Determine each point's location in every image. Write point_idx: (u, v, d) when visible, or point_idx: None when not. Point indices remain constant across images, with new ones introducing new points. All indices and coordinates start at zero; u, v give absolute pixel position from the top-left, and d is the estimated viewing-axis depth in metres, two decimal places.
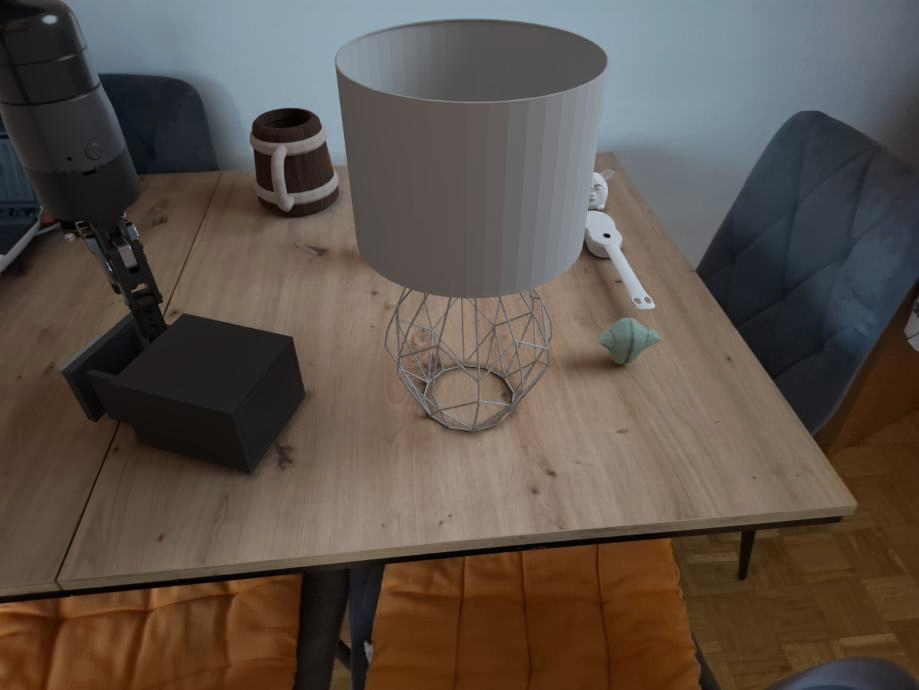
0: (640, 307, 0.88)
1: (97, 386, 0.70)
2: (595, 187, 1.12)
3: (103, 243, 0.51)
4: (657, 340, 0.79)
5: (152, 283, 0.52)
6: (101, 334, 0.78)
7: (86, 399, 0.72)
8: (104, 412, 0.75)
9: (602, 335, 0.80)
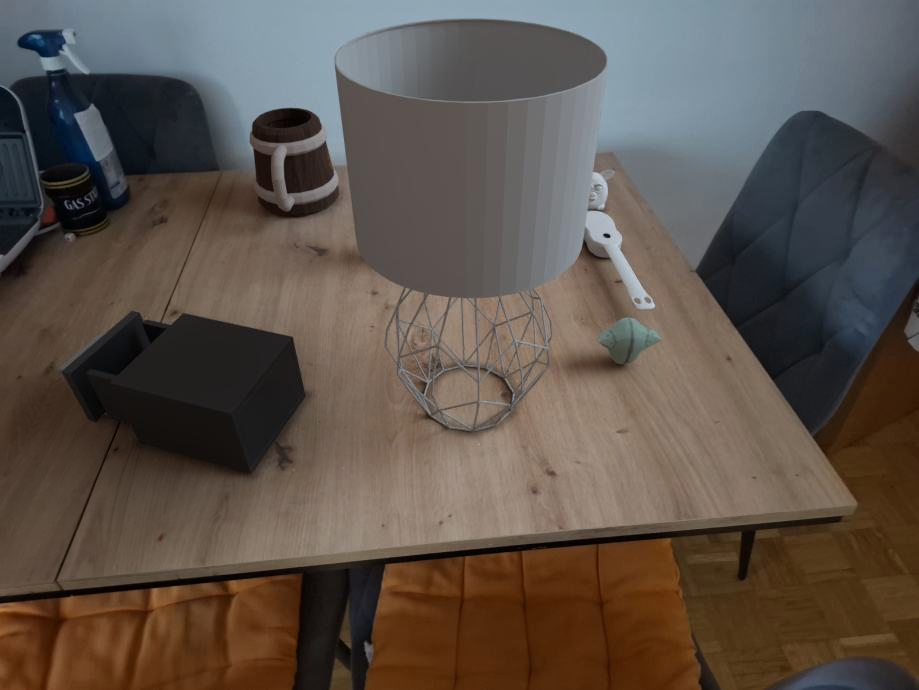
0: (640, 307, 0.88)
1: (97, 386, 0.70)
2: (595, 187, 1.12)
3: None
4: (657, 340, 0.79)
5: None
6: (101, 334, 0.78)
7: (86, 399, 0.72)
8: (104, 412, 0.75)
9: (602, 335, 0.80)
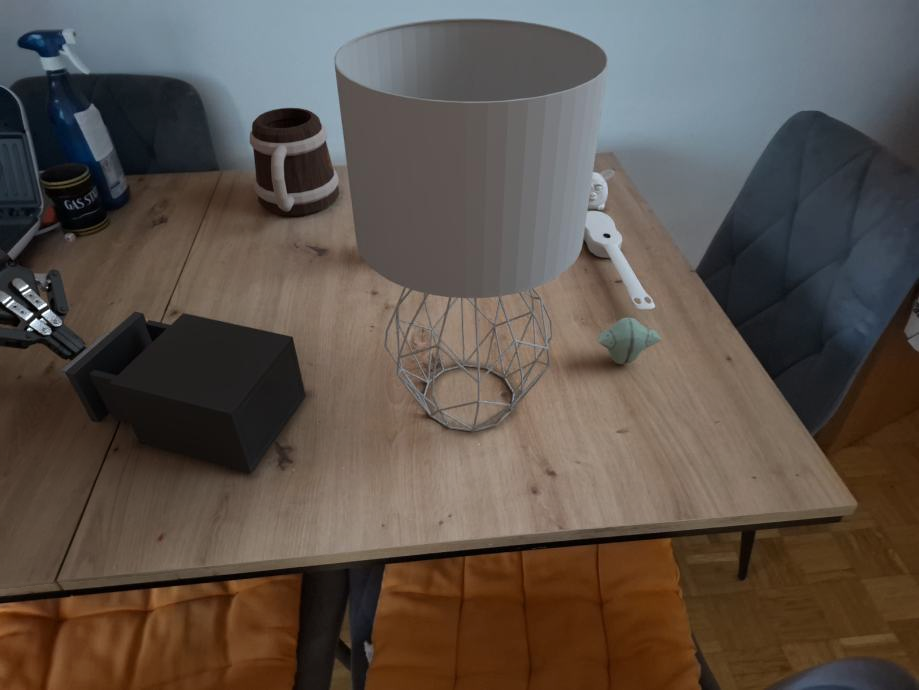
0: (640, 307, 0.88)
1: (100, 387, 0.70)
2: (595, 187, 1.12)
3: None
4: (657, 340, 0.79)
5: (10, 339, 0.71)
6: (104, 335, 0.78)
7: (89, 399, 0.72)
8: (107, 413, 0.75)
9: (602, 335, 0.80)
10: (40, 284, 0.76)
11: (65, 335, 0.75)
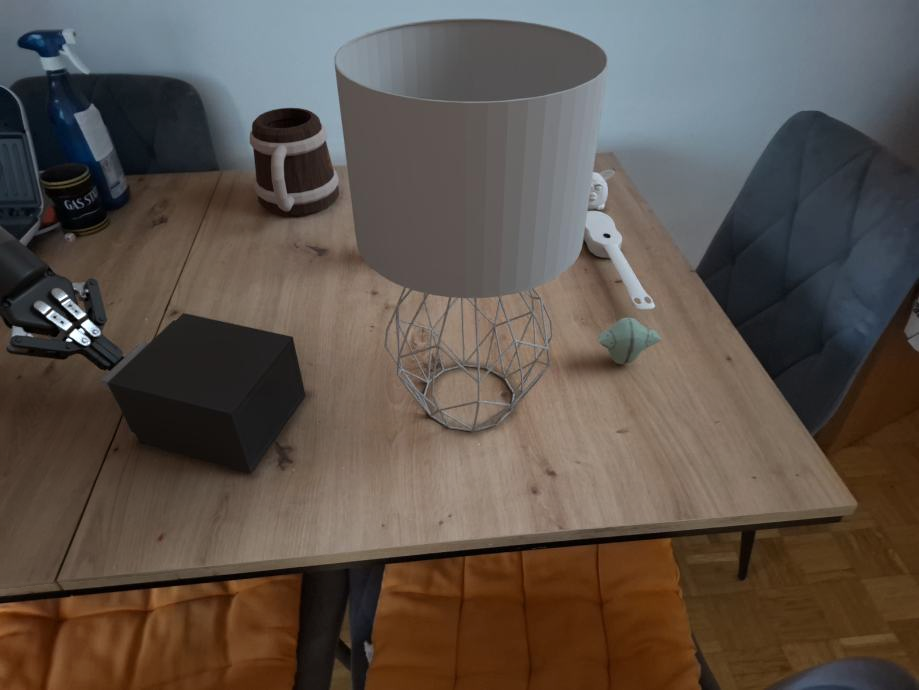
0: (640, 307, 0.88)
1: None
2: (595, 187, 1.12)
3: None
4: (657, 340, 0.79)
5: (50, 350, 0.70)
6: (142, 344, 0.77)
7: None
8: None
9: (602, 335, 0.80)
10: (78, 293, 0.75)
11: (104, 345, 0.74)
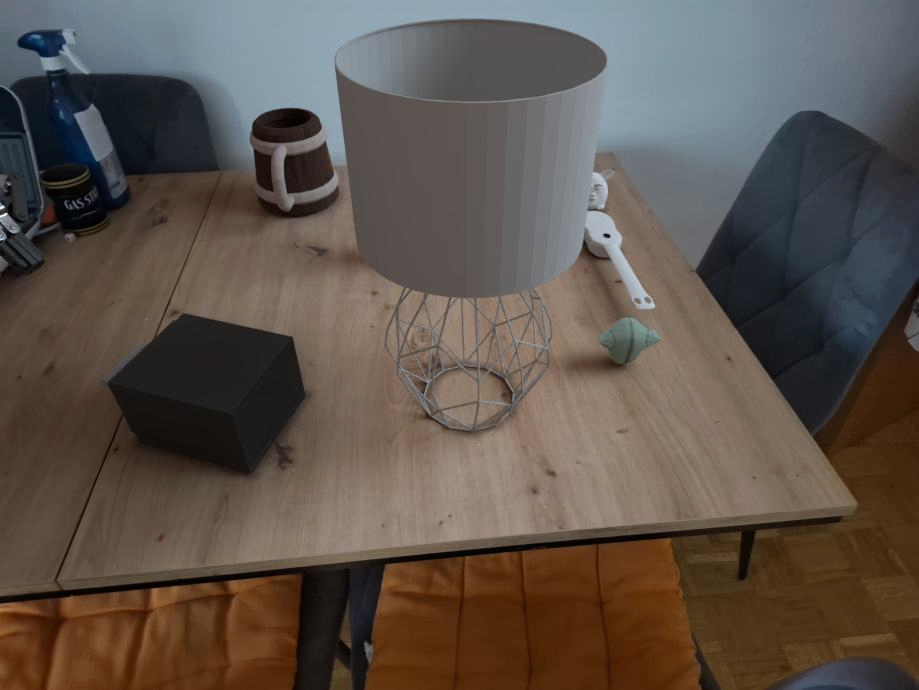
0: (640, 307, 0.88)
1: None
2: (595, 187, 1.12)
3: None
4: (657, 340, 0.79)
5: None
6: (142, 344, 0.77)
7: None
8: None
9: (602, 335, 0.80)
10: None
11: (22, 244, 0.67)
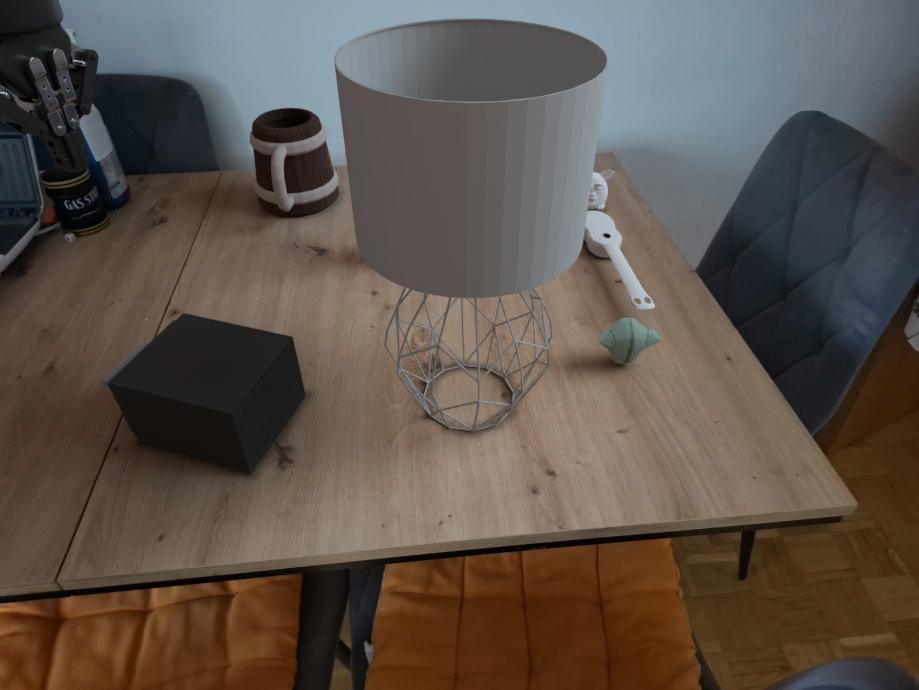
0: (640, 307, 0.88)
1: None
2: (595, 187, 1.12)
3: None
4: (657, 340, 0.79)
5: (21, 125, 0.54)
6: (142, 344, 0.77)
7: None
8: None
9: (602, 335, 0.80)
10: (70, 59, 0.58)
11: (76, 143, 0.59)
